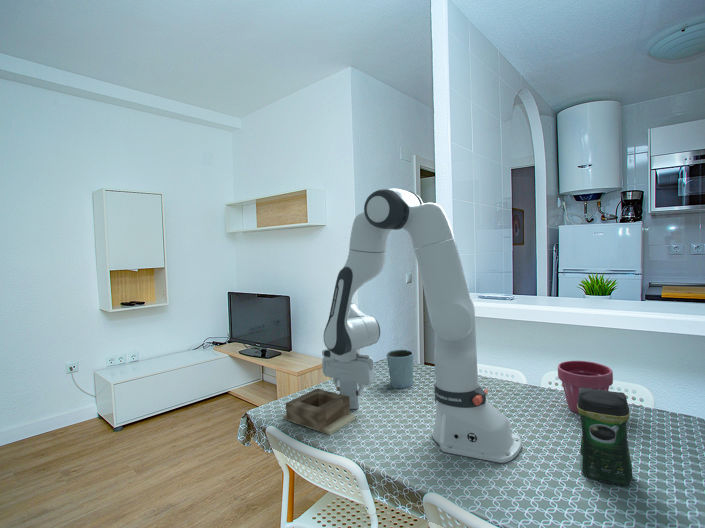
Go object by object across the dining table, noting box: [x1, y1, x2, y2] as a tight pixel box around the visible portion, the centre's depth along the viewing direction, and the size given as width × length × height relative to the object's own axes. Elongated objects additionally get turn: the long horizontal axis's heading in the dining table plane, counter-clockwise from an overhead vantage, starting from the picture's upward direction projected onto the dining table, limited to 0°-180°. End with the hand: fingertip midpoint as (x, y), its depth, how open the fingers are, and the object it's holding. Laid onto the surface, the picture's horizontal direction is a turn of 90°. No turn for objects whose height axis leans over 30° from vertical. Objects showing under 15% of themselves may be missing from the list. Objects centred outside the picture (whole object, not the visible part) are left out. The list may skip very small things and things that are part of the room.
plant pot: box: [557, 360, 614, 414], centre depth 115 cm, size 14×14×13 cm
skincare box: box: [338, 372, 361, 410], centre depth 127 cm, size 6×4×12 cm
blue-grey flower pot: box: [386, 349, 414, 389], centre depth 145 cm, size 10×10×12 cm
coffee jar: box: [577, 387, 633, 486], centre depth 83 cm, size 10×8×19 cm
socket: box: [282, 388, 357, 436], centre depth 120 cm, size 20×14×6 cm
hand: (349, 393), depth 127 cm, fingers closed on skincare box, 7 cm apart
